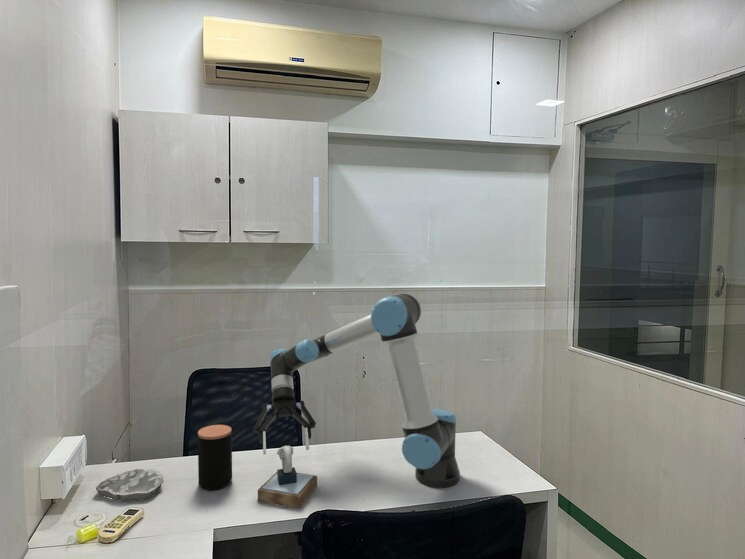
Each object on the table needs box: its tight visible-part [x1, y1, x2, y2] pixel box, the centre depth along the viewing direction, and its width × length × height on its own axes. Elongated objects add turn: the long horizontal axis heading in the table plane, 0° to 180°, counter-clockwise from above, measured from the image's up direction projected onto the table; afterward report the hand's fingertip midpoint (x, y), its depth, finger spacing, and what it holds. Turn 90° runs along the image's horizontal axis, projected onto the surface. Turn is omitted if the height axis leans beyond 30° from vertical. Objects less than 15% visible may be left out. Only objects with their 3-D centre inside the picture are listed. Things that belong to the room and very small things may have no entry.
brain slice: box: [95, 468, 165, 502], centre depth 155 cm, size 20×17×3 cm
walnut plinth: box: [257, 471, 318, 509], centre depth 153 cm, size 14×14×4 cm
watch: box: [276, 445, 298, 485], centre depth 153 cm, size 6×8×11 cm
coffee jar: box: [197, 424, 233, 491], centre depth 158 cm, size 11×11×18 cm
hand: (286, 450), depth 154 cm, fingers open, 13 cm apart
